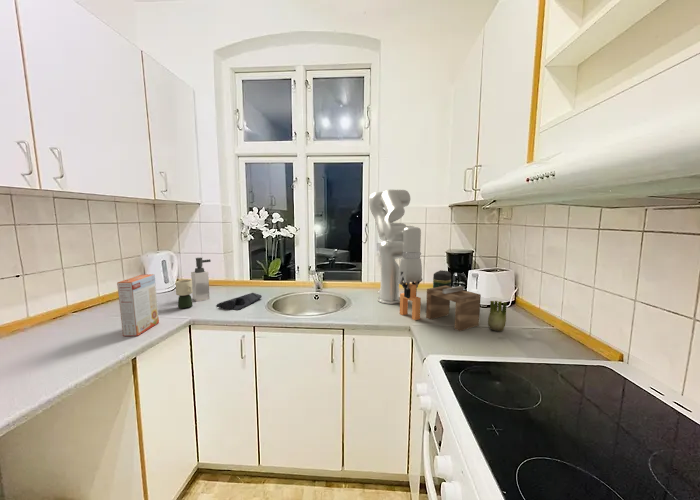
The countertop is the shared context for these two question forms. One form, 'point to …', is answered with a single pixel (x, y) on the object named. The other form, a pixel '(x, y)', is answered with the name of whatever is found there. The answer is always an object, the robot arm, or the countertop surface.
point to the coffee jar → (442, 279)
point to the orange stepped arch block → (415, 303)
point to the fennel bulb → (497, 316)
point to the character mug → (184, 293)
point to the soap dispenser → (200, 282)
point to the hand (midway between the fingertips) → (410, 296)
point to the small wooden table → (464, 310)
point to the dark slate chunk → (239, 302)
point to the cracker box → (138, 304)
